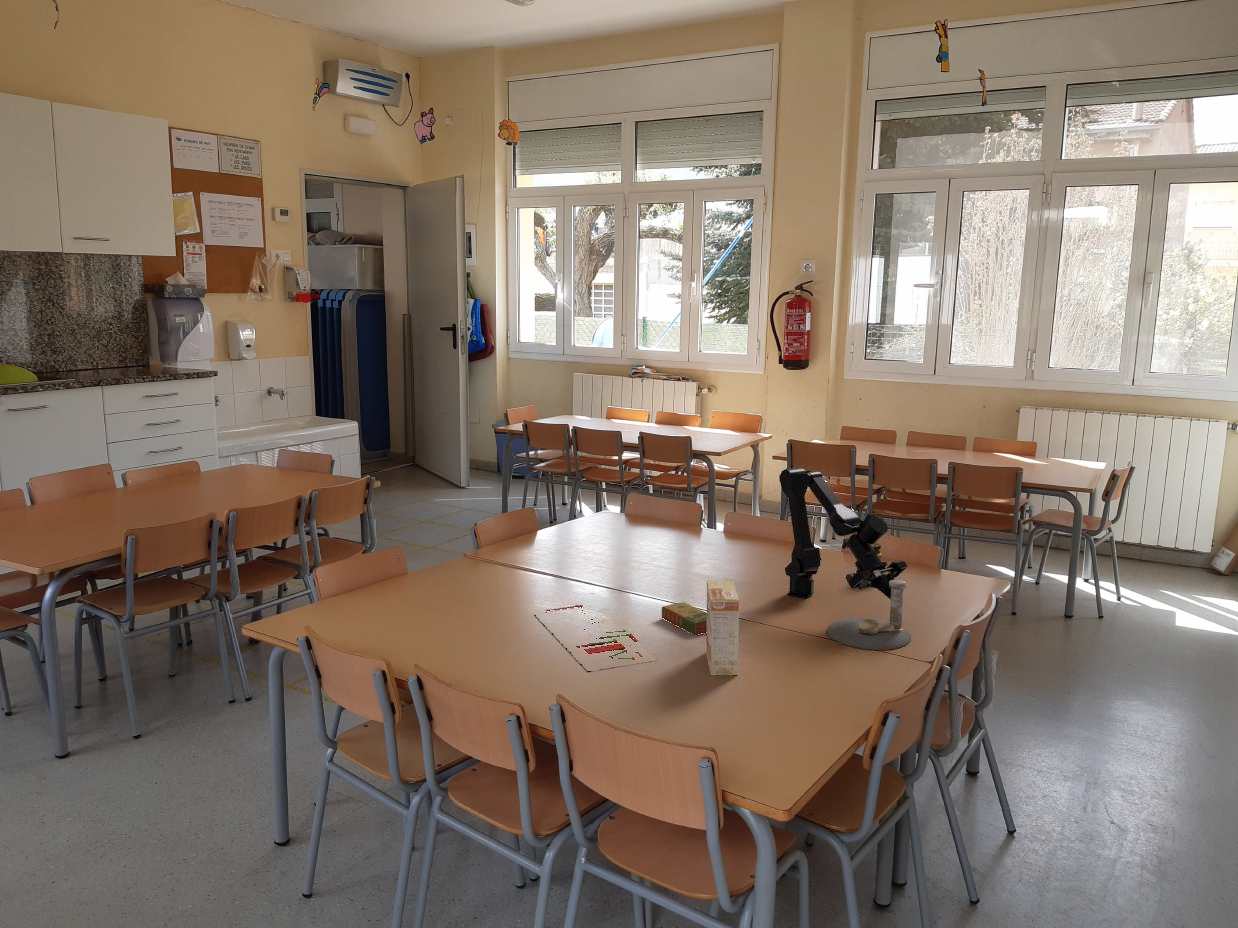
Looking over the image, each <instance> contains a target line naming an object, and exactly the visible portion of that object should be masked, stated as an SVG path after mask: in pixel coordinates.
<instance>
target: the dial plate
mask: <svg viewBox="0 0 1238 928" xmlns="http://www.w3.org/2000/svg"><path fill="white" fill-rule="evenodd" d="M862 619H863V618H858V617H857V618H847V619H846V618H845V619H840V620H835V621H834V622H832V623H830V624H829V625H828V626H827V628H826V634H827V635H828V637H829V638H830V639H831V640H834V641H835V642H837V643H838V644H841V645H844V646H847V647H851V648H855V649H860V650H868V651H870V650H871V651H889V650H896V649H900V648H903V647H906V646H907V645H908V644H909V643H911V639H912V635H911V633H910V632H909V631H908V629H906V628H904V627H902V628H901V629H899V630H893V631H882V632H878V633H877V634H864V633H861V632H860V631H859V621H860V620H862ZM873 620H876V621H878V622H879V624H882V623H890V621H885V620H879V619H874V618H873Z"/></svg>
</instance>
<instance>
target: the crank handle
mask: <svg viewBox="0 0 1238 928" xmlns="http://www.w3.org/2000/svg"><path fill="white" fill-rule="evenodd" d="M889 587H891V600H890V605H889V606H890V607H889V608H890V611H889V623H882V624H879V622H878V621H876V620H877V619H874V618H873V619H874V620H873V619H872V618H861V619H862V620H860V621H859V631H860V632H861V633H864V634H877V633H878V632H882V631H893V630H899V629H901V628H903V625H902V623H903V609H904V607H903V606H904V592H905V591H904V590H905V589H906V588H907V582H906V581H904V580H901V579H894V580H891V581H889Z"/></svg>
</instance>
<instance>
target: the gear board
mask: <svg viewBox="0 0 1238 928" xmlns="http://www.w3.org/2000/svg"><path fill="white" fill-rule="evenodd" d="M583 606H584V605H583V604H575V605H573V606H566V607H558V608H551V609H545V610H546V611H550V610H555V611H560V609H562V610H567V608H569V609H574V607H578V608H580V607H581V608H582V607H583ZM582 611H583V610H582ZM550 612H551V611H550ZM584 614H585V613H584ZM591 620H593V619H591ZM594 623H596V622H594ZM598 623H599V622H598ZM592 624H593V623H592ZM584 630H585V629H584ZM626 631H627V630H626V629H624V630H623V631H615V632H626ZM606 633H613V632H606ZM621 636H629V638H631V639H632V640H633V641H634V642H637V641H638V642H639V640H638V638H636V637H635V636H634V634H632V633H628V634H626V635H617V636H607V637H600V638H599V639H604V638H612V637H621ZM633 638H634V639H633ZM596 639H597V638H596ZM612 642H614V643H618V642H617V640H616V639H613V641H608V642H599V643H589V644H587V645H581V646H582V647H588V646H595V645H603V644H605V643H607V644H608V643H612ZM630 646H631V645H630ZM576 647H577V648H580V646H576ZM624 649H625V647H624V646H623V645H622V644H621V643H620V644H614V645H607V646H601V647H595V648H589V649H584V650H585V651H586V652H587V653H588V654H592V653H600V652H605V651H612V650H613V651H614V650H624ZM624 652H626V653H627V650H624V651H622V652H620V653H617V654H615V655H612V656H616V655H618V654H621V653H624ZM635 653H637V654H639V656H640V657H643V656H642V655H641V654H640V653H639V652H635ZM612 656H609V657H611V658H612V659H613V657H612ZM618 659H632V660H635V658H634V657H632V658H618Z"/></svg>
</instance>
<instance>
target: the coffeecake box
mask: <svg viewBox="0 0 1238 928" xmlns="http://www.w3.org/2000/svg"><path fill="white" fill-rule="evenodd" d="M739 604H740V599H739V595H738V592H737V589H736V586H735V583H734V580H717V579H716V580H715V579H714V580H712V579H711V580H707V581H706V613H707V633H706V648H705V649H706V651H705V653H706V654H705V655H706V660H707V665H709V666H708V670H709V675H710V674H720V675H719V676H732V675H737V676H738V675H739V623H740V622H739V621H740V617H739V616H740V610H739V609H740V605H739Z"/></svg>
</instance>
